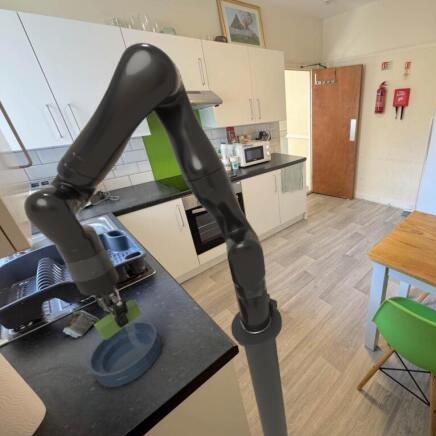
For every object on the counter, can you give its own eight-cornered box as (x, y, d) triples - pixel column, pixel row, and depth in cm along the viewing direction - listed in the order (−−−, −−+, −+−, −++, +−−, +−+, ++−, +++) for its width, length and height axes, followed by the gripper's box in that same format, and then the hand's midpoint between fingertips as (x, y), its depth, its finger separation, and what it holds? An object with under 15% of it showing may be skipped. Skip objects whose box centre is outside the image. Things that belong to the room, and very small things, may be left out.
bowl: (143, 325, 79) (137, 314, 76) (173, 347, 71) (168, 335, 69) (86, 369, 66) (77, 356, 64) (115, 401, 59) (106, 388, 56)
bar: (135, 309, 67) (130, 299, 65) (141, 313, 65) (136, 303, 63) (100, 335, 60) (93, 324, 58) (106, 340, 58) (99, 329, 57)
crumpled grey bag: (54, 333, 79) (50, 326, 71) (73, 312, 83) (71, 304, 75) (84, 344, 81) (83, 340, 73) (100, 324, 86) (101, 317, 78)
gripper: (126, 268, 54) (149, 322, 62) (97, 253, 61) (121, 302, 68) (87, 289, 48) (119, 345, 56) (60, 269, 55) (91, 321, 63)
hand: (120, 321), depth 62 cm, fingers closed on bar, 3 cm apart
